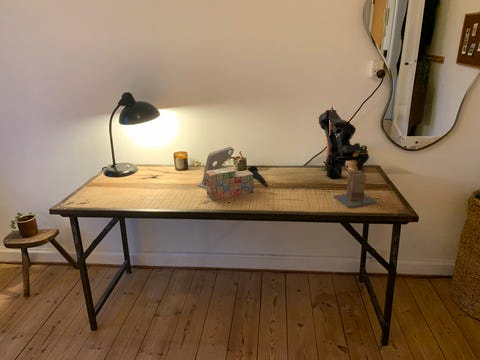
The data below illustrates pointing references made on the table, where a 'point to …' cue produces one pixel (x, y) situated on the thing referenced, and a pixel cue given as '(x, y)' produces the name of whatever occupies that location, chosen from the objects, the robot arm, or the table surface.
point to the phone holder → (220, 158)
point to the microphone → (257, 175)
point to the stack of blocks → (228, 183)
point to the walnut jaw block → (356, 185)
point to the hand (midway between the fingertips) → (350, 175)
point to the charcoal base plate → (352, 204)
